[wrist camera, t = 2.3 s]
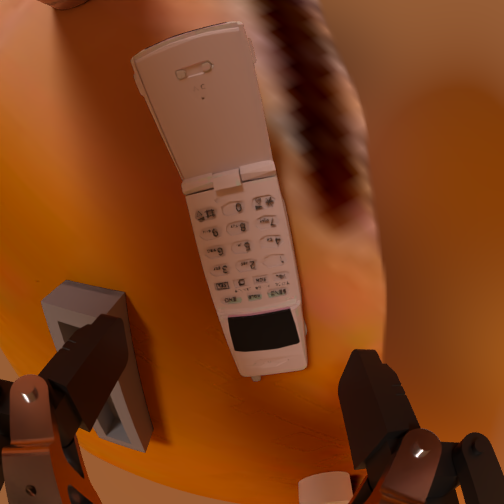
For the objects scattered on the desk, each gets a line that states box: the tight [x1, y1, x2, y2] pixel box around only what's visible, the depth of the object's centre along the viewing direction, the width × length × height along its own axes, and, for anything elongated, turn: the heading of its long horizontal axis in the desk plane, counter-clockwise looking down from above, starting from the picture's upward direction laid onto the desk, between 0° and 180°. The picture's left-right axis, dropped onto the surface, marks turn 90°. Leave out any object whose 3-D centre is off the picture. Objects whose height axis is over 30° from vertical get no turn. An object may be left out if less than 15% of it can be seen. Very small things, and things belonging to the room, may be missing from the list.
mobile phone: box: [130, 22, 308, 381], centre depth 16 cm, size 6×6×25 cm
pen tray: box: [41, 280, 153, 453], centre depth 23 cm, size 21×6×4 cm, turn 174°
